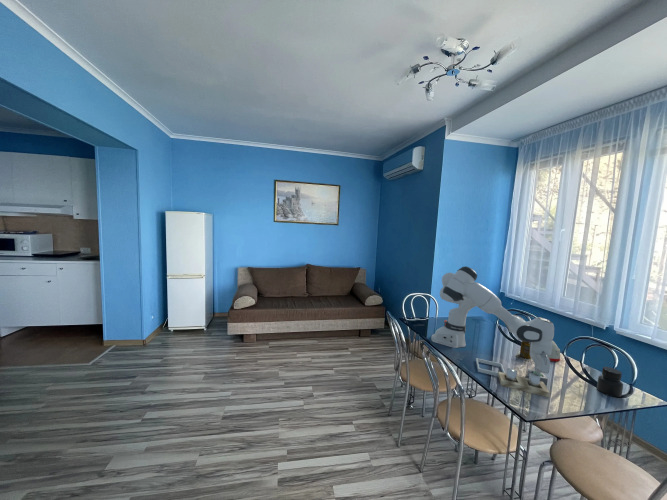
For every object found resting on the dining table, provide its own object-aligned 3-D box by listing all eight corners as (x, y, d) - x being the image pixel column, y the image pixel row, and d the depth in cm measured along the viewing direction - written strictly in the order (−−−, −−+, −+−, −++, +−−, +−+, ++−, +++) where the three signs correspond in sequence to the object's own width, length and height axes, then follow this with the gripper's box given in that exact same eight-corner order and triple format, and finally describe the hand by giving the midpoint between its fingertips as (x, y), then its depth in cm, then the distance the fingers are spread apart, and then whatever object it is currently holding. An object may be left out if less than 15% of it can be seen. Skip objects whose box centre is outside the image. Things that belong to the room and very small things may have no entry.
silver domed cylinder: (506, 384, 138) (508, 371, 138) (504, 379, 142) (506, 367, 142) (516, 386, 137) (518, 373, 136) (514, 382, 141) (516, 369, 140)
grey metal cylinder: (529, 389, 134) (531, 376, 134) (526, 385, 138) (528, 372, 138) (540, 392, 133) (541, 378, 132) (536, 387, 137) (538, 374, 136)
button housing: (530, 382, 142) (531, 375, 142) (527, 375, 149) (527, 369, 148) (546, 386, 139) (547, 378, 139) (542, 379, 146) (543, 372, 145)
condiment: (533, 358, 170) (536, 340, 169) (528, 361, 166) (530, 342, 165) (520, 353, 176) (523, 335, 175) (515, 356, 172) (517, 338, 171)
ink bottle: (627, 397, 133) (631, 374, 132) (613, 399, 131) (617, 376, 130) (603, 386, 143) (607, 364, 142) (591, 387, 141) (594, 365, 140)
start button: (533, 379, 143) (534, 373, 143) (531, 375, 146) (532, 370, 146) (542, 381, 141) (543, 375, 141) (540, 377, 145) (540, 372, 145)
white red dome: (529, 354, 176) (532, 332, 175) (536, 349, 184) (539, 328, 183) (556, 363, 165) (559, 340, 164) (562, 357, 174) (565, 335, 172)
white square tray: (477, 372, 149) (478, 368, 149) (475, 361, 161) (476, 358, 161) (505, 379, 144) (506, 374, 144) (501, 367, 156) (501, 363, 156)
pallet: (500, 386, 137) (501, 381, 137) (497, 376, 146) (498, 371, 146) (548, 398, 129) (549, 392, 129) (542, 387, 138) (543, 381, 138)
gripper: (555, 358, 131) (551, 384, 133) (542, 342, 150) (538, 365, 152) (539, 355, 134) (536, 381, 135) (528, 339, 153) (525, 362, 154)
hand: (537, 372), depth 144 cm, fingers closed, pressing on start button
